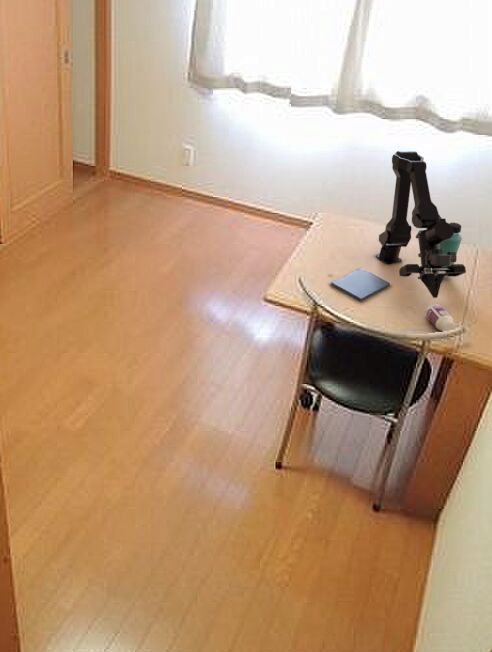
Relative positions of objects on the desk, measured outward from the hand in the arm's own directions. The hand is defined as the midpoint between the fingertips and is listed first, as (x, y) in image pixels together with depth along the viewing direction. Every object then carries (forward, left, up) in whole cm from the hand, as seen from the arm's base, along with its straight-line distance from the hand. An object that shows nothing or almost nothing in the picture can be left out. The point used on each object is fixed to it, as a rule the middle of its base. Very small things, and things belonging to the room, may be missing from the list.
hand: (435, 297), depth 200 cm
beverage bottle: (-23, -16, -7) cm, 29 cm away
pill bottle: (0, 0, -5) cm, 5 cm away
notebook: (+7, -23, -7) cm, 25 cm away
